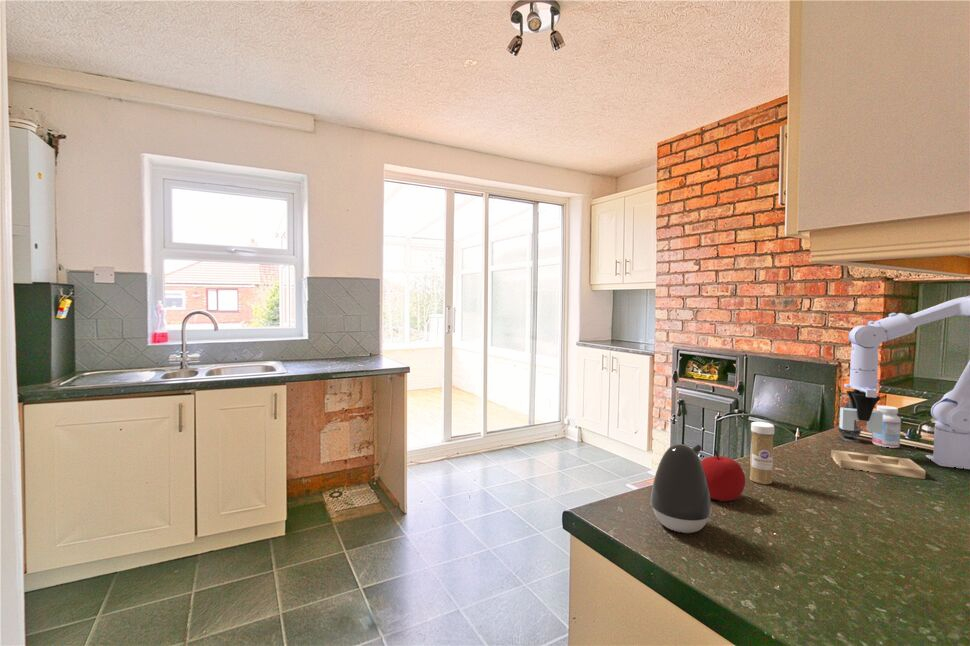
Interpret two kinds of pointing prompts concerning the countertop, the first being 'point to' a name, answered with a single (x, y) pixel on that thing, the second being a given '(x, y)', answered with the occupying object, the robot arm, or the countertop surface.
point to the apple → (723, 477)
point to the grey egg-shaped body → (681, 490)
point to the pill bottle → (888, 428)
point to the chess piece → (850, 434)
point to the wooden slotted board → (878, 464)
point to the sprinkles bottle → (761, 452)
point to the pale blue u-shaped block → (851, 414)
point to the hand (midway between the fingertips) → (861, 418)
